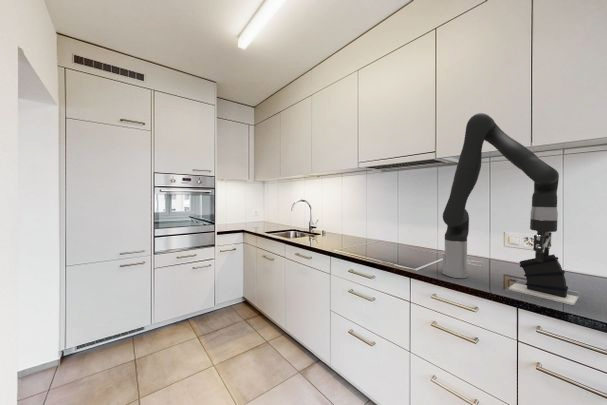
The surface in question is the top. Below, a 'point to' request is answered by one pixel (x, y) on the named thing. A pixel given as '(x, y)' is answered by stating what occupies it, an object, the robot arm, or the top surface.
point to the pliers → (473, 261)
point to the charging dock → (521, 287)
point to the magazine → (545, 276)
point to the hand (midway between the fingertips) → (542, 259)
